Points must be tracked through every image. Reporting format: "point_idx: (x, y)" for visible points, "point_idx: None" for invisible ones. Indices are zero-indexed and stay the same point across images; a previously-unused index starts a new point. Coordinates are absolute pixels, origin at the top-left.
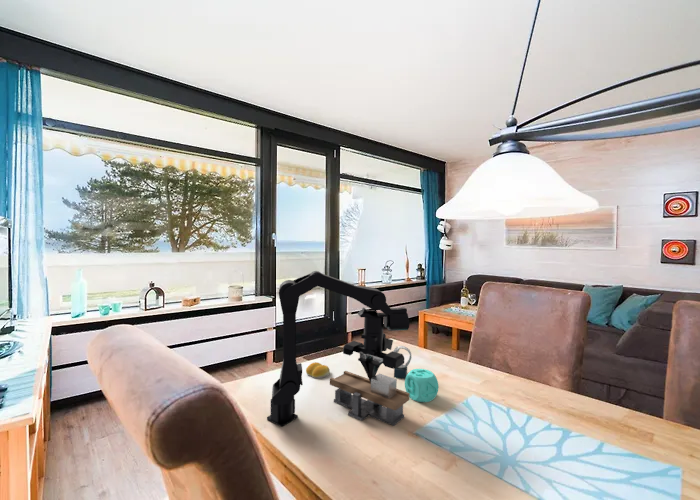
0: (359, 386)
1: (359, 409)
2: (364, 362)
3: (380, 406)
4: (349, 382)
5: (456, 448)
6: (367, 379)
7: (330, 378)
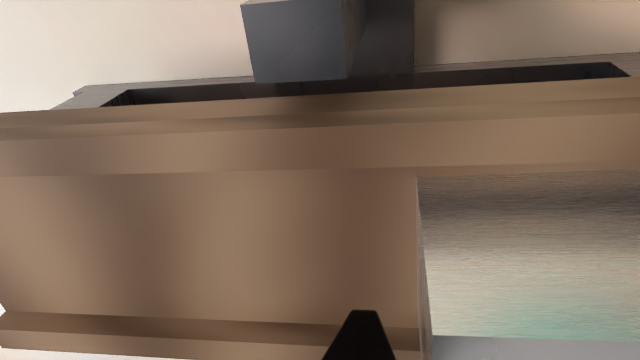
0: (240, 271)
1: None
2: None
3: (427, 84)
4: (118, 267)
5: None
6: (192, 157)
7: (6, 347)
